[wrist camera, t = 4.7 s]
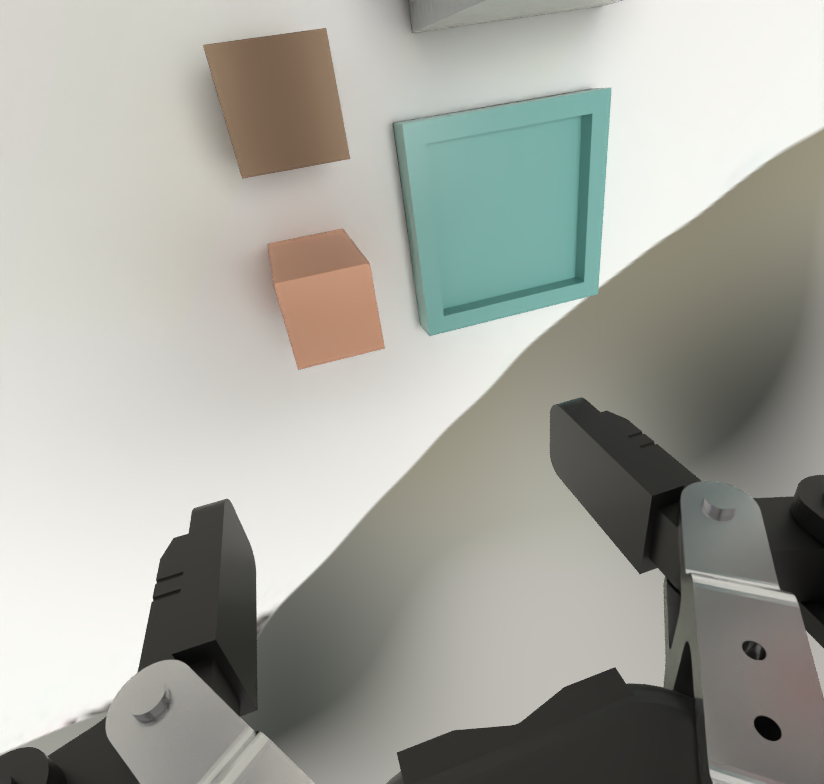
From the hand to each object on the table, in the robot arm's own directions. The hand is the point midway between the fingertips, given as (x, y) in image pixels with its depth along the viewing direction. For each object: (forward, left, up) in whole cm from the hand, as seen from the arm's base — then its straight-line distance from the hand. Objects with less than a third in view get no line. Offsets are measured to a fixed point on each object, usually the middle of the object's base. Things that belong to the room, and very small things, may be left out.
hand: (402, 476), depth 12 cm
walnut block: (0, +8, -18) cm, 20 cm away
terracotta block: (0, 0, -18) cm, 18 cm away
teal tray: (+11, +1, -18) cm, 21 cm away
